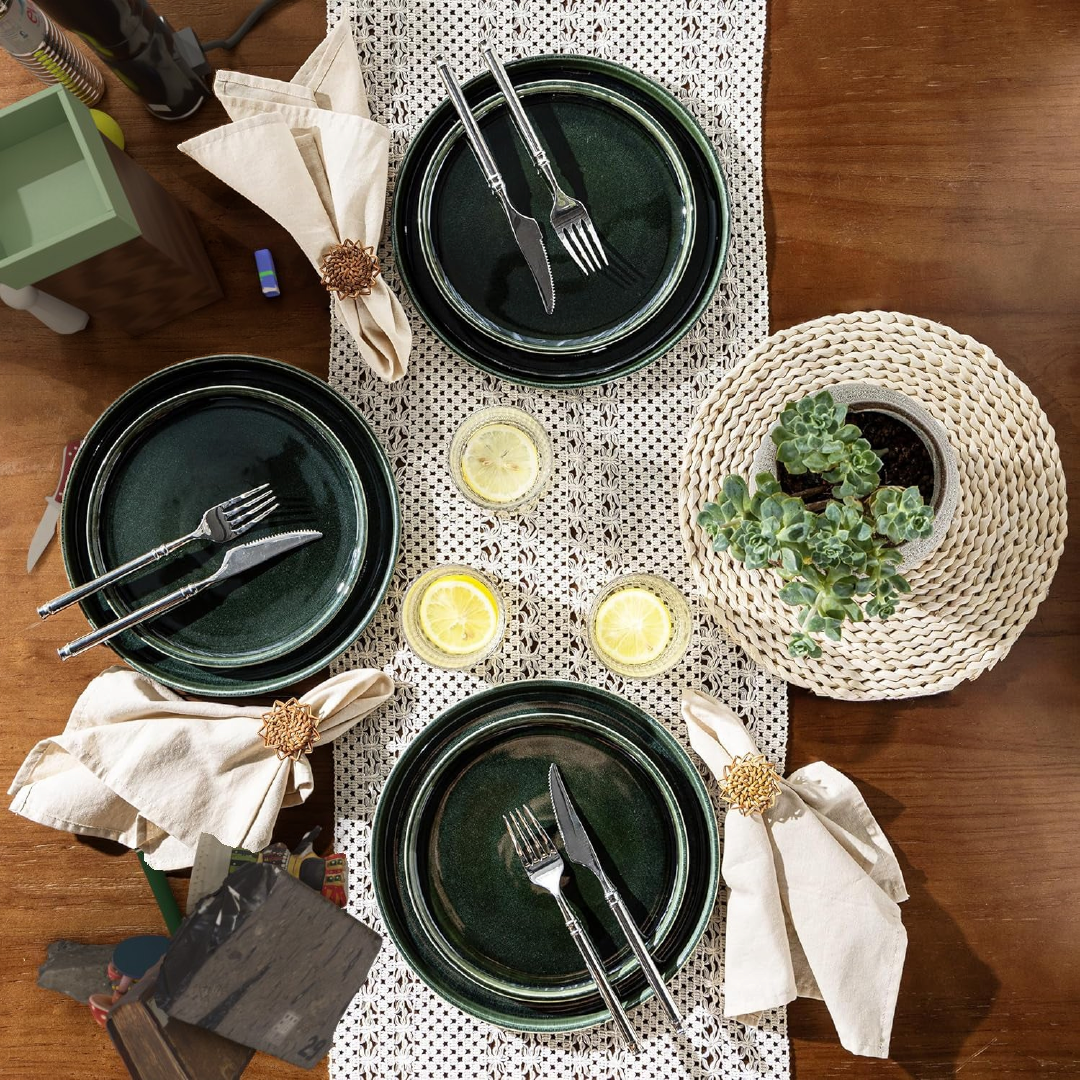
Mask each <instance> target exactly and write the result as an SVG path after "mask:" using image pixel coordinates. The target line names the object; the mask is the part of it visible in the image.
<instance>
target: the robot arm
mask: <svg viewBox="0 0 1080 1080" xmlns="http://www.w3.org/2000/svg"><path fill="white" fill-rule="evenodd" d="M30 1H31V2H32V3H33V4H34V5H35V6H36V7H37V8H39V9H40V10H41V11H42V12H43V13H44V14H45V15H46V16H47V17H48V18H49V19H50V20H51V21H52V22H53V23H54V24H57V25H58V26H59V27H61V28H63V30H66V31H68V32H70V33H72V34H75V35H76V36H77V37H78V38H79V39H80V40H81V41H82V42H83V43H84V44H85V45H86V47H88V48H89V49H90V50H91V52H93V53H94V54H95V56H97V58H99V60H101V61H102V63H103V64H104V65H105V66H106V67H107V68H108V69H109V70H110V71H111V72H112V73H113V75H115V76H116V77H117V78H118V79H119V81H120V82H122V84H124V86H125V87H127V89H128V90H129V91H130V92H131V93H132V94H133V95H134V96H135V98H137V99H138V100H139V101H140V102H141V103H142V104H143V105H144V107H145V108H146V109H147V110H148V111H149V112H150V113H151V114H152V115H153V116H154V117H155V118H157V119H159V120H161V121H163V122H167V123H181V122H185V121H187V120H189V119H191V118H193V117H195V115H196V114H198V113H199V112H200V110H201V109H202V107H203V106H204V103H206V102H205V101H206V100H207V99H209V98H212V95H213V94H212V92H211V89H210V87H209V85H208V82H207V78H206V76H207V75H208V74H210V73H212V72H213V69H212V67H211V65H210V62H209V60H208V57H207V54H206V53H208V52H210V51H213V50H216V49H219V48H221V49H222V50H226V51H227V50H229V49H231V48H233V47H234V46H236V45H237V44H238V43H239V41H240V40H241V39H242V38H243V37H244V36H245V35H246V34H247V32H249V31H250V29H252V27H253V26H254V24H255V23H256V22H257V21H258V20H259V19H260V17H261V16H262V15H263V14H264V13H265V12H267V11H268V10H269V9H270V8H271V7H273V6H274V5H276V4H277V3H278V2H281V0H264V1H262V2H261V3H260V4H259V5H258V6H257V7H256V8H255V9H254V10H253V11H252V13H250V14H249V16H247V18H246V20H245V21H244V22H243V23H242V25H241V26H240V27H239V29H238V30H237V31H236V32H235V33H234V34H233V35H232V36H231V37H229V38H228V39H226V40H224V39H221V38H217V39H213V40H210V41H206V42H204V43H201V40H200V39H199V36H198V34H197V33H196V32H195V30H194V29H193V28H192V27H191V25H189V26H187V27H185V28H182V29H180V30H178V31H176V29H175V28H174V27H173V25H172V24H171V23H170V22H169V21H168V19H167V18H166V16H165V15H163V14H160V15H159V14H157V12H156V11H155V10H154V8H153V7H152V5H150V3H149V2H148V1H147V0H30Z"/></svg>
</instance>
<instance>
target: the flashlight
mask: <svg viewBox="0 0 1080 1080" xmlns="http://www.w3.org/2000/svg"><path fill="white" fill-rule="evenodd" d="M134 851H135V854H136V856H137V859H138V861H139V864H140V866H141V868H142V870H143V873H144V875H145V877H146V880H147V882H148V884H149V887H150V890H151V892H152V894H153V897H154V899H155V901H156V904H157V906H158V908H159V910H160V913H161V915H162V918H163V920H164V922H165V924H166V927H167V929H168V932H169V934H170V936H171V937H170V938H172V937H173V935H174V934H175V932H176V930H177V929H178V928H179V926H180V925H181V924H182V923H183V921H184V920H185V919H186V918H187V917H186V916H185V915H183V913H182V911H181V908H180V906H179V903H178V901H177V899H176V897H175V894H174V892H173V889H172V888H171V884H170V882H169V880H168V877H167V876H166V873H165V871H164V869H163V870H154V869H152V868H151V867H150V866H149V864H148V865H147V862H145V861H144V852H143V851H142V849H136V848H135V849H134Z"/></svg>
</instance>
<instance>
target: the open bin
mask: <svg viewBox="0 0 1080 1080" xmlns="http://www.w3.org/2000/svg"><path fill="white" fill-rule="evenodd" d="M89 109H90V108H88V107H87V106H86V105H85V104H84V103H83V102H82V101H81V100H80V99H78V98H77V97H76V96H75V95H74V94H73V93H72V92H71V91H70V90H69V89H67V88H66V87H65V86H64V85H63V84H62V83H61V82H60V83H57V84H55V85H53V86H51V87H49V88H47V87H46V88H44V89H42V90H40V91H38V92H35V93H34V94H31V95H29V96H27V97H25V98H23V99H22V98H21V99H20V100H18V101H16V102H13V103H11V104H10V105H7V106H4V107H3V108H1V109H0V284H1V283H2V284H4V285H6V286H8V287H11V288H13V289H15V290H19V289H22V288H24V287H26V286H28V285H31V284H33V283H35V282H37V281H39V280H42V279H44V278H46V277H48V276H51V275H53V274H55V273H57V272H60V271H62V270H64V269H66V268H68V267H71V266H73V265H75V264H77V263H80V262H82V261H84V260H86V259H88V258H91V257H93V256H95V255H97V254H100V253H102V252H104V251H106V250H108V249H111V248H113V247H115V246H117V245H120V244H122V243H124V242H126V241H128V240H131V239H133V238H135V237H137V236H140V235H142V233H141V231H140V228H139V226H138V224H137V221H136V219H135V216H134V214H133V212H132V209H131V207H130V205H129V202H128V200H127V197H126V195H125V193H124V190H123V188H122V186H121V183H120V181H119V178H118V176H117V174H116V171H115V169H114V167H113V164H112V162H111V159H110V157H109V155H108V152H107V150H106V148H105V145H104V143H103V140H102V138H101V136H100V133H99V131H98V129H97V126H96V124H95V121H94V119H93V117H92V114H91V112H90V110H89Z"/></svg>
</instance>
